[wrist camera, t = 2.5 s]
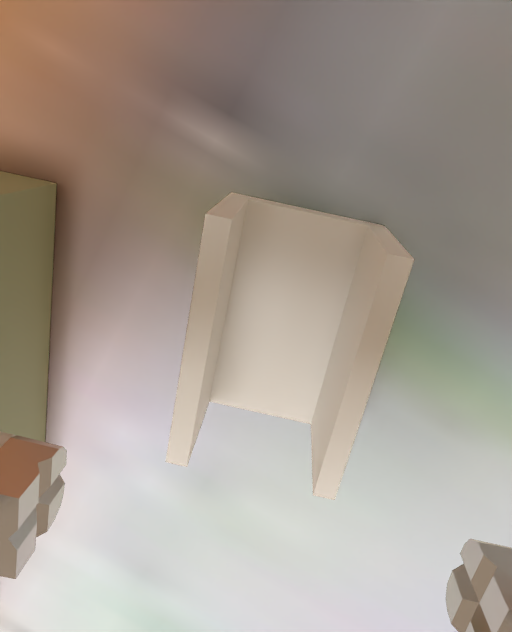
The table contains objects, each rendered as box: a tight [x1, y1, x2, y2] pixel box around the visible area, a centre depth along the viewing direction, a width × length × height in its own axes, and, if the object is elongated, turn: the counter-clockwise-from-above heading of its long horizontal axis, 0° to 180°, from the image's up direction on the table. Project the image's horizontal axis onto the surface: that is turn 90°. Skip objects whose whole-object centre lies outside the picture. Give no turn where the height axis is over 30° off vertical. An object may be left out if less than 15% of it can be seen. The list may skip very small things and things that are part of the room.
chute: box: [166, 192, 414, 500], centre depth 16 cm, size 8×6×5 cm
